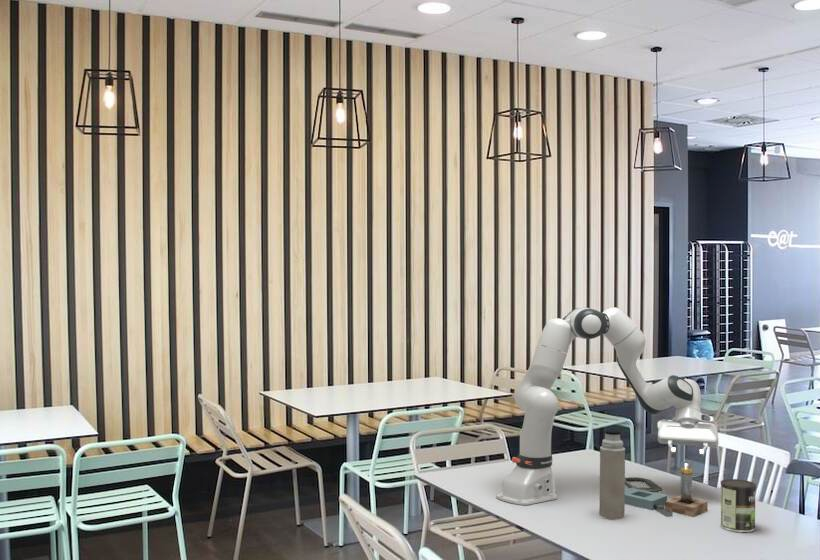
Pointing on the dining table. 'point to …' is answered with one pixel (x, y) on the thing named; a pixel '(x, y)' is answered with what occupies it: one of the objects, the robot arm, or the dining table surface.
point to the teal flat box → (644, 498)
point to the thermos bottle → (612, 476)
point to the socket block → (686, 506)
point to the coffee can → (738, 505)
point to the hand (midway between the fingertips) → (687, 454)
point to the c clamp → (652, 487)
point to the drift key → (662, 510)
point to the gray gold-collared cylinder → (686, 482)
